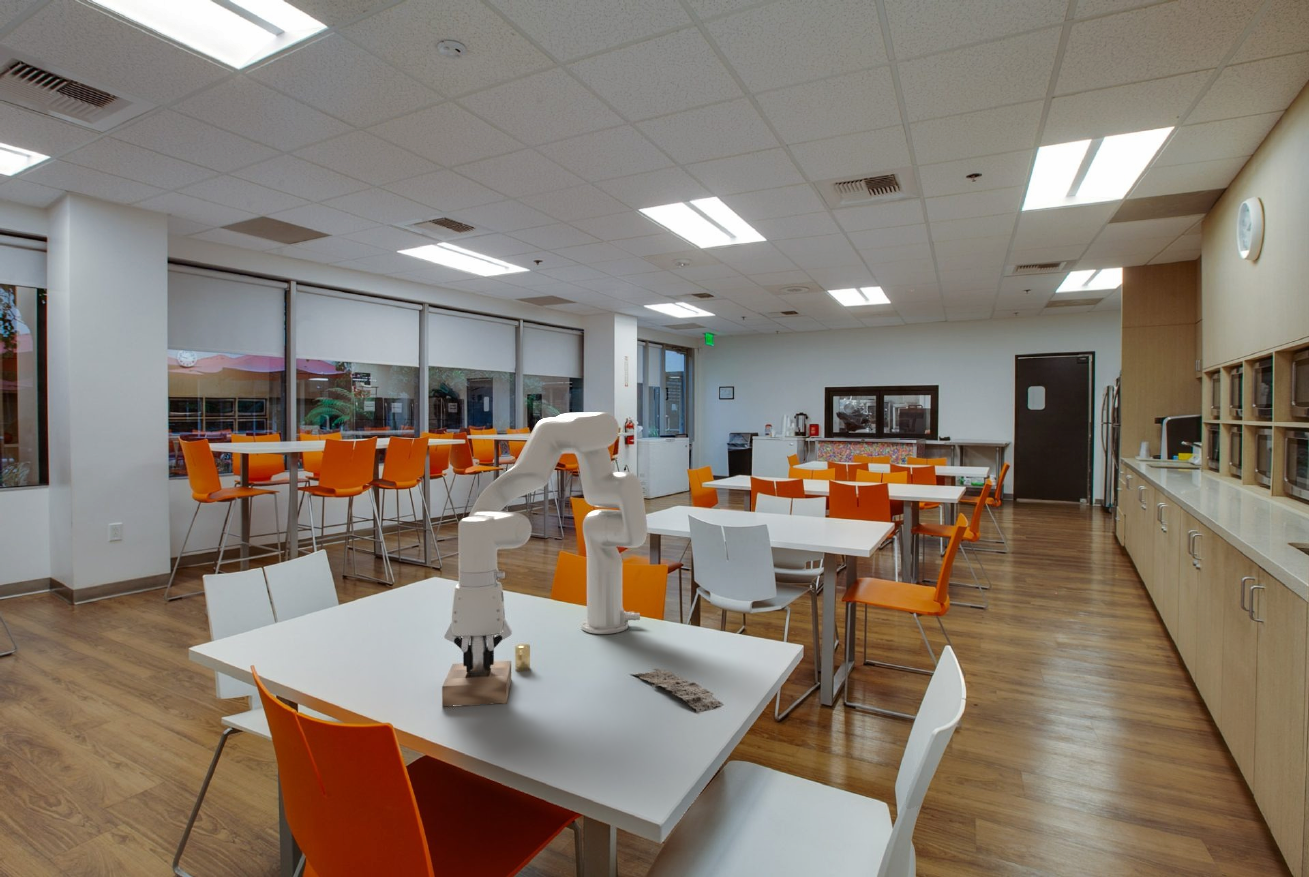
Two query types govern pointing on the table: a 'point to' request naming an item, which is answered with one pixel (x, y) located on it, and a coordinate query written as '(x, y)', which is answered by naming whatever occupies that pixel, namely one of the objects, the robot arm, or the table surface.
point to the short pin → (522, 657)
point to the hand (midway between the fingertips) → (478, 667)
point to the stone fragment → (683, 689)
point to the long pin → (478, 656)
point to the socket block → (477, 685)
